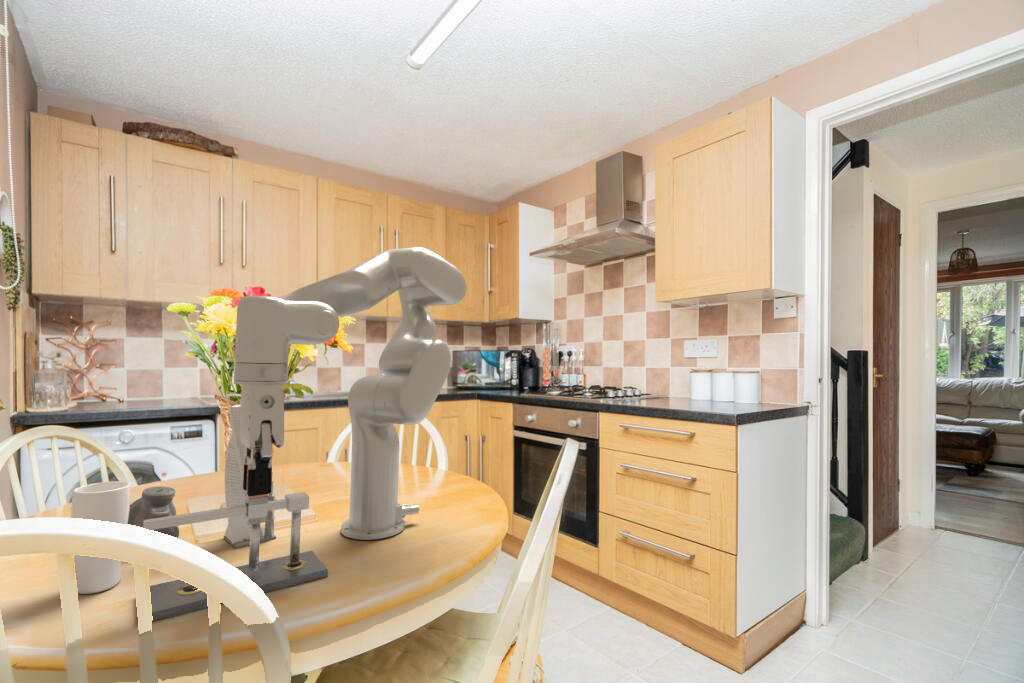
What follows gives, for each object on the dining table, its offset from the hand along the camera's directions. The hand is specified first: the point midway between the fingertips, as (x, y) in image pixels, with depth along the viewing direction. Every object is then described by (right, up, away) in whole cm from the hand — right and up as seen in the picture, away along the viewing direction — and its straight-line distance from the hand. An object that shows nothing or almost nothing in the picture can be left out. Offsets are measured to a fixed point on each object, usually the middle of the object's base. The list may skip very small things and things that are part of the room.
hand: (256, 490), depth 75 cm
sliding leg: (0, -12, 0) cm, 12 cm away
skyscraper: (-11, -15, +17) cm, 25 cm away
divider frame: (-3, -13, -2) cm, 13 cm away
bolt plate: (-2, -14, -2) cm, 14 cm away
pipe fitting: (-26, -14, +13) cm, 33 cm away
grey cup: (-22, -14, -3) cm, 26 cm away
